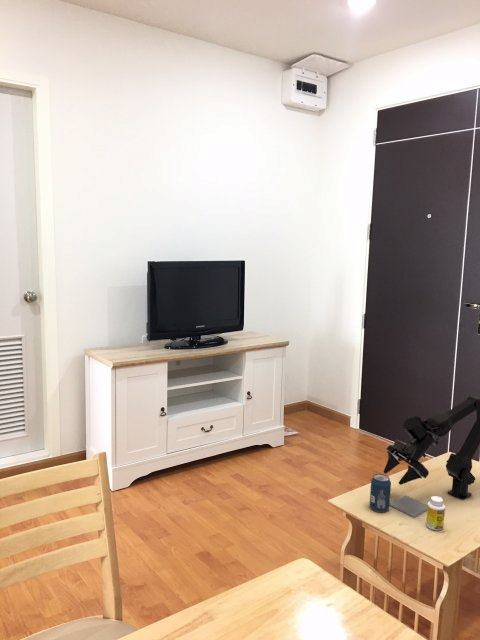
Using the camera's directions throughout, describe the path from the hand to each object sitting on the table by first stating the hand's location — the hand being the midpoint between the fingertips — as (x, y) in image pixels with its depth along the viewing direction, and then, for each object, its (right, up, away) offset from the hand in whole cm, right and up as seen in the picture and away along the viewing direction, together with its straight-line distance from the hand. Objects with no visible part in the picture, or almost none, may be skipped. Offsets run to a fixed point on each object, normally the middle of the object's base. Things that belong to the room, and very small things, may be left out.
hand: (391, 478), depth 192 cm
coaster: (+7, -11, +2) cm, 13 cm away
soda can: (-4, -11, 0) cm, 12 cm away
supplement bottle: (+11, -13, -11) cm, 21 cm away
